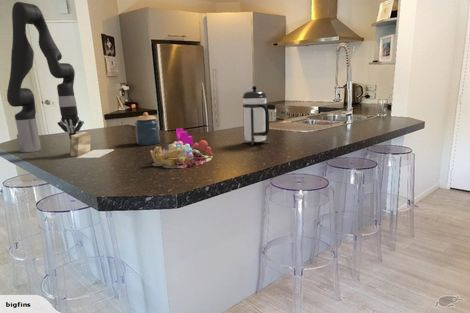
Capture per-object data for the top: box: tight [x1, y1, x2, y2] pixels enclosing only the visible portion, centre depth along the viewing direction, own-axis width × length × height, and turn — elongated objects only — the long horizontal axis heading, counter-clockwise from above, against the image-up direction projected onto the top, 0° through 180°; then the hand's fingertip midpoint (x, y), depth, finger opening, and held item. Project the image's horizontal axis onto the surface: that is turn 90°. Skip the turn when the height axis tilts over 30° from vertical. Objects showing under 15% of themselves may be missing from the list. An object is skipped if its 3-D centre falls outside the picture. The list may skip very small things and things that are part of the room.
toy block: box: [175, 128, 194, 146], centre depth 186 cm, size 15×6×8 cm, turn 19°
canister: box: [134, 111, 161, 146], centre depth 188 cm, size 13×13×18 cm
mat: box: [76, 148, 115, 159], centre depth 167 cm, size 11×18×1 cm, turn 176°
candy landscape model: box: [150, 139, 214, 169], centre depth 144 cm, size 25×24×9 cm
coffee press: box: [241, 85, 270, 146], centre depth 175 cm, size 17×16×30 cm
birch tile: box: [69, 131, 92, 157], centre depth 167 cm, size 4×12×10 cm, turn 176°
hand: (73, 140), depth 166 cm, fingers closed
